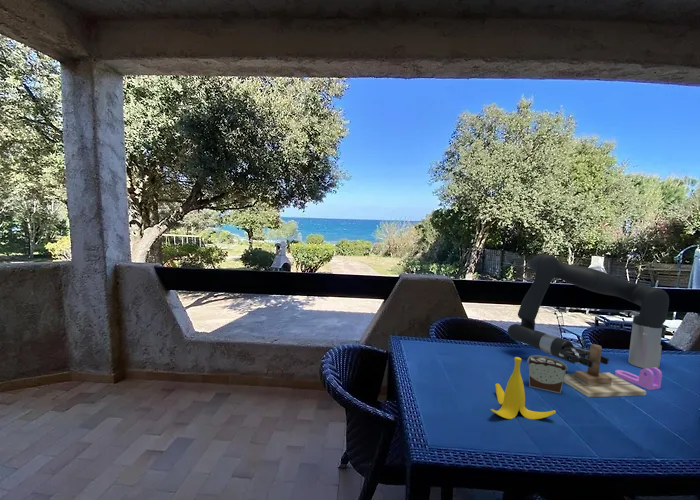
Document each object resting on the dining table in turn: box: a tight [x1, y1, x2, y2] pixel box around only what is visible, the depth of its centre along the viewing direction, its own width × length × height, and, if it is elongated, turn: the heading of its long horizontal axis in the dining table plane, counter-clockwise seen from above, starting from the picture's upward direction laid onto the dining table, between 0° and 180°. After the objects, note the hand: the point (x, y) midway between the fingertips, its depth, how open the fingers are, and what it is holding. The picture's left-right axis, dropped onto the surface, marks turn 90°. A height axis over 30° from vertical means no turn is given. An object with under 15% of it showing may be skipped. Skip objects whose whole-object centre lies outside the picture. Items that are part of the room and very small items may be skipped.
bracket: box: [614, 367, 663, 391], centre depth 125 cm, size 13×6×7 cm, turn 18°
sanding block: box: [574, 343, 612, 387], centre depth 118 cm, size 9×6×13 cm, turn 98°
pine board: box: [563, 372, 647, 398], centre depth 119 cm, size 22×14×2 cm, turn 98°
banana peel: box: [490, 356, 557, 420], centre depth 99 cm, size 17×19×17 cm
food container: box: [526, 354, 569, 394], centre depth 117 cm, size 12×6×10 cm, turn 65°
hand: (600, 363), depth 116 cm, fingers open, 8 cm apart
